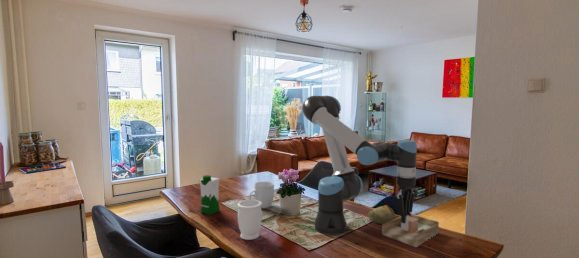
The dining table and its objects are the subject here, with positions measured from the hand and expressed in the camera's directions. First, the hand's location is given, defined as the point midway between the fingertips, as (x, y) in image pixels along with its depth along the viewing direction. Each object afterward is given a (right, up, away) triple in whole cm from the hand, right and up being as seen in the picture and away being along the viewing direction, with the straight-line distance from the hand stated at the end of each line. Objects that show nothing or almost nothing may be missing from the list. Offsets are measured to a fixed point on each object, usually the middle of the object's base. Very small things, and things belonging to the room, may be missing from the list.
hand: (404, 229), depth 133 cm
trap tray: (+4, -4, +4) cm, 7 cm away
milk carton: (-93, -1, +32) cm, 98 cm away
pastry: (-4, -3, +20) cm, 20 cm away
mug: (-65, 0, +40) cm, 76 cm away
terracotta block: (+3, -1, +3) cm, 4 cm away
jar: (-68, -4, +2) cm, 68 cm away
